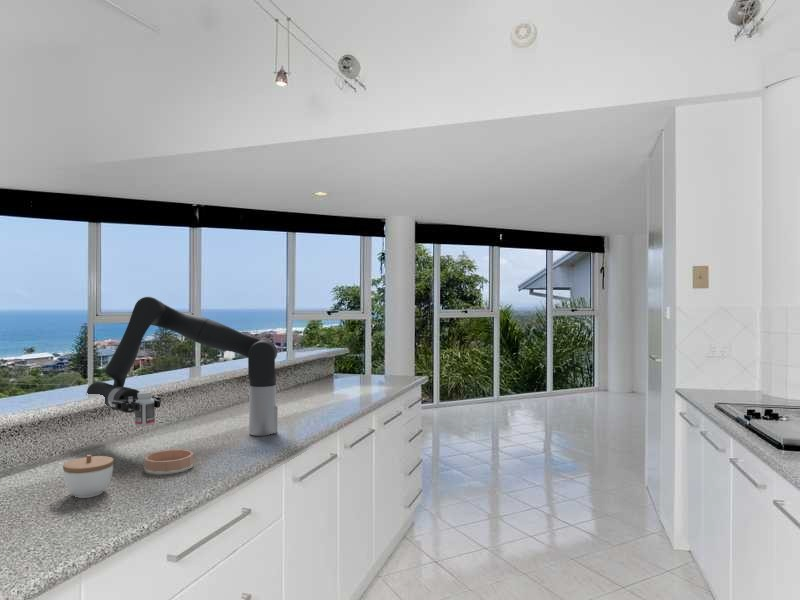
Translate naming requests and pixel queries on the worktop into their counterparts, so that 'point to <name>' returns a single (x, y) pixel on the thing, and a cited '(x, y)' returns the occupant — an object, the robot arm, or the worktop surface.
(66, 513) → the worktop surface
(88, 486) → the lidded jar
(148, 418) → the pill bottle
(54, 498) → the worktop surface
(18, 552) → the worktop surface
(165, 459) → the bowl
